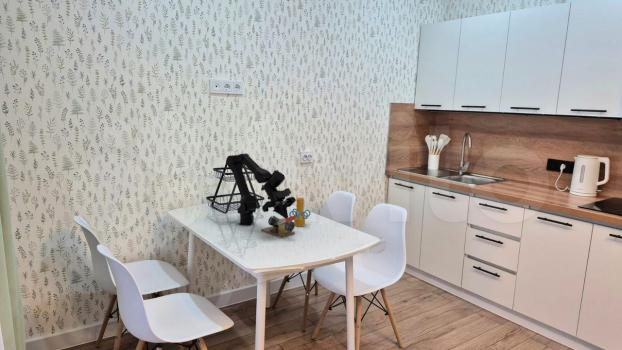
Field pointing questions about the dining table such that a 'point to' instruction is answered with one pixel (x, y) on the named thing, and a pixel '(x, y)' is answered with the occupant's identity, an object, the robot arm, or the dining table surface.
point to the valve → (279, 227)
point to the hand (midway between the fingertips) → (287, 218)
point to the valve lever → (286, 220)
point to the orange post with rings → (300, 213)
